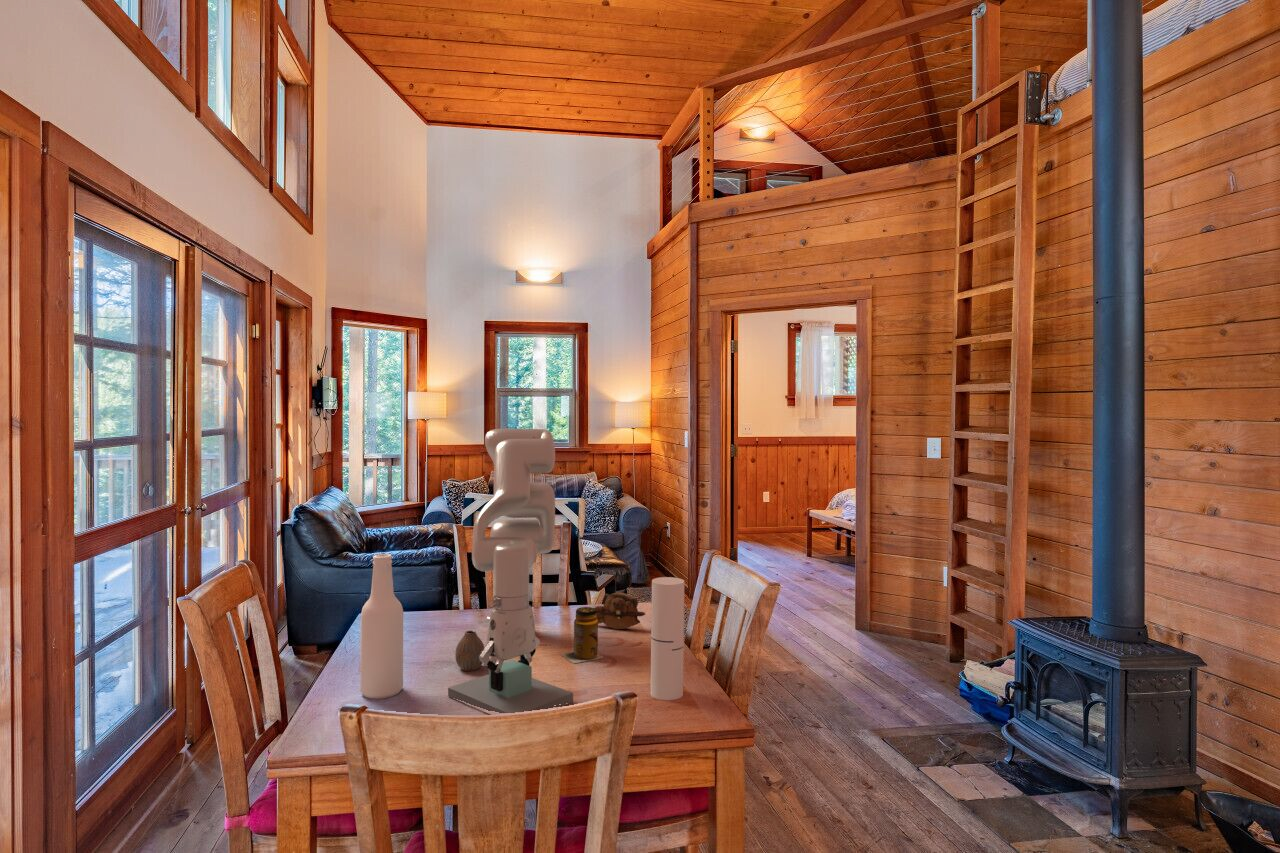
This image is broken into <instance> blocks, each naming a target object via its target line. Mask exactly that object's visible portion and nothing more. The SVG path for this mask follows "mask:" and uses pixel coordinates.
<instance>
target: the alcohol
mask: <svg viewBox="0 0 1280 853" xmlns="http://www.w3.org/2000/svg"><path fill="white" fill-rule="evenodd" d="M392 559H393V555H392V554H390V553H381V554H380V553H379V554H375V555H373V557H372V560H373V561H372V565H373V566H372V568H373V569H372V575H371V576H372V578H371V588H370V589H371V591H370V596H369V598H368V600H366V602H364V605H363V606H362V608H361V614H360V668H359V669H360V676H359V678H360V681H359V682H360V689H359V690H360V692H361V695H362V696H363V697H365V698H367V699H371V700H380V699H388V698H391V697H394V696H396V695H398V694H399V693H401V690H402V689H403V687H404V609H403V605H402V603H401V602H400V601H399V599H398V598H397V597H396V596H395V592H394V581H393V580H394V579H393V569H392V568H393V567H392V565H393V560H392Z"/></svg>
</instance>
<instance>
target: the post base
mask: <svg viewBox="0 0 1280 853" xmlns="http://www.w3.org/2000/svg"><path fill="white" fill-rule="evenodd" d="M448 696H449V697H448ZM447 697H448V698H450V697H452V698H455V699H458V700H461V701H464V702H466V703H469V704H471V705H474V706H477V707H480V708H483V709H486V710H488V711H495V712H499V713H515V712H524V711H532V710H540V709H548V708H553V707H559V706H562V707H564V706H567V705H569V704H571V703H572V704H573V703H574V693H573V692H572V691H569V690H567V689H564V688H561V687H558V686H556V685H553V684H550V683H548V682H545V681H541V680H539V679H536V678H534V677H532V684H531V690H529V691H527V692H524V693H521V694H518V695H516V696H513V697H510V698H506V697H504V696H501V695H499V694H496V693H494V692H491V691H489V673H488V674H485V675H483V676H479V677H476V678H473V679H470V680H468V681H464V682H462V683H458V684H455V685H452V686H449V687H447ZM452 698H451V699H452ZM566 703H568V704H566ZM559 704H561V705H559ZM554 705H556V706H554Z"/></svg>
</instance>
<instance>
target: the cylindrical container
mask: <svg viewBox="0 0 1280 853" xmlns="http://www.w3.org/2000/svg"><path fill="white" fill-rule="evenodd" d="M650 621H651V624H650V625H651V626H650V627H651V628H650V630H651V632H650V636H651V637H650V696H651V697H652V698H654V699H657V700H661V701H675V700H679V699H681V698H682V697H683V696H684V645H685V644H684V643H685V642H684V639H685V637H684V636H685V580H684V579H683V578H679V577H672V576H669V577H668V576H662V577H661V576H660V577H655V578H653V579H652V580H651V620H650Z"/></svg>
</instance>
